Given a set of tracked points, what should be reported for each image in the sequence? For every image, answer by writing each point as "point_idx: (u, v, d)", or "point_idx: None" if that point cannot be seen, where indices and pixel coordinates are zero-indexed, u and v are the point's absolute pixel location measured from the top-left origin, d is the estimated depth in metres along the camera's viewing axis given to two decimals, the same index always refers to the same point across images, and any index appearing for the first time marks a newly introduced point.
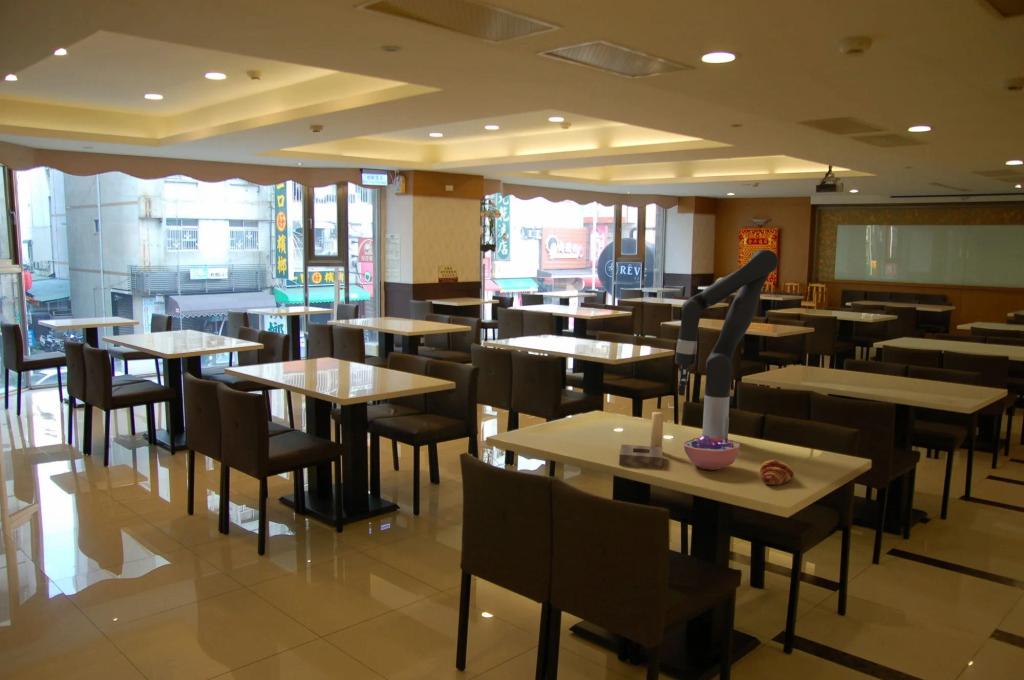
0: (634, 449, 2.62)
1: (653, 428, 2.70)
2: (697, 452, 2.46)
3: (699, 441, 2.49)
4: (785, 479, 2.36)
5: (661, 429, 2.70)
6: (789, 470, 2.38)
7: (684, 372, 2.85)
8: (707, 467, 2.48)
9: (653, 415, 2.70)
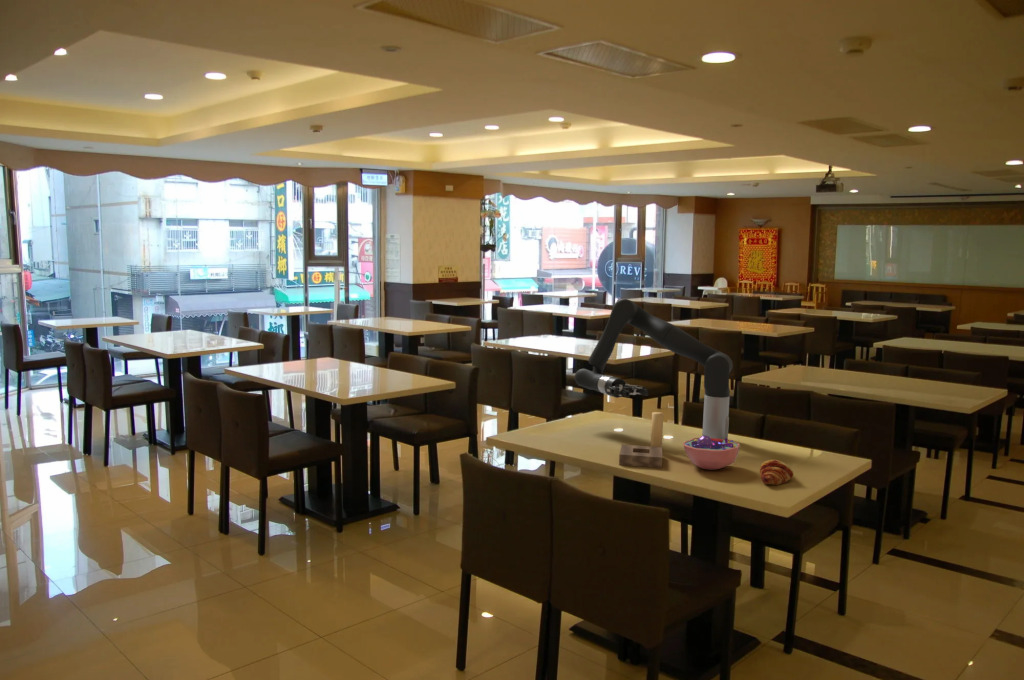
0: (634, 449, 2.62)
1: (653, 428, 2.70)
2: (697, 452, 2.46)
3: (699, 441, 2.49)
4: (784, 479, 2.36)
5: (661, 429, 2.70)
6: (789, 470, 2.38)
7: (608, 390, 2.84)
8: (707, 467, 2.48)
9: (653, 415, 2.70)
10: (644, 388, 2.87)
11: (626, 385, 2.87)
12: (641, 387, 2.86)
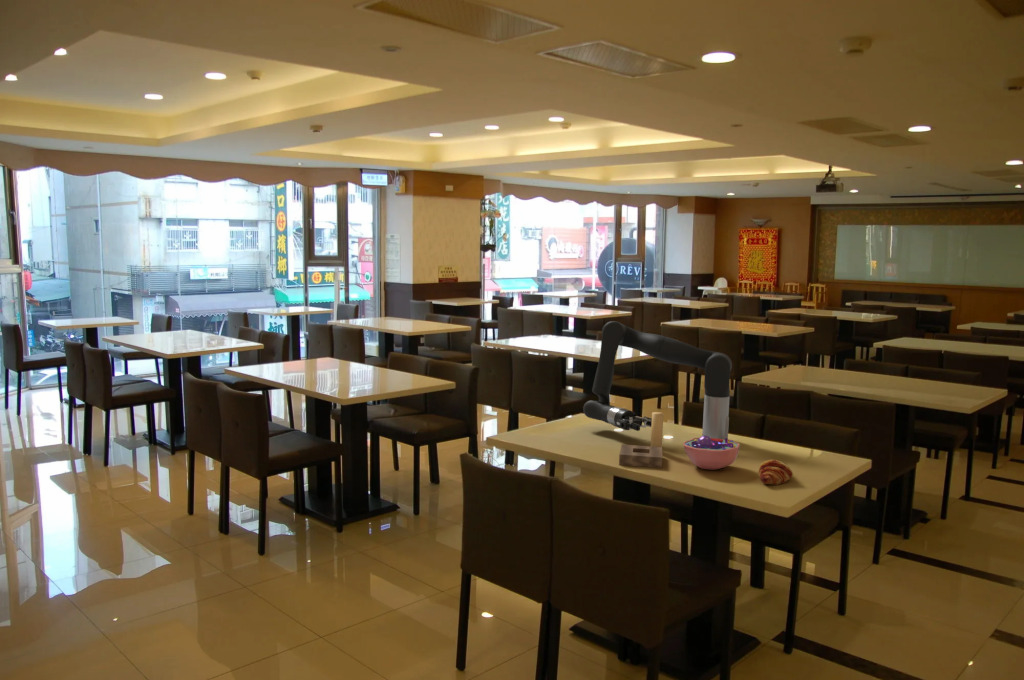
0: (634, 449, 2.62)
1: (653, 428, 2.70)
2: (697, 452, 2.46)
3: (699, 441, 2.49)
4: (784, 479, 2.36)
5: (661, 429, 2.70)
6: (788, 470, 2.38)
7: (618, 423, 2.80)
8: (707, 467, 2.48)
9: (653, 415, 2.70)
10: None
11: (636, 417, 2.83)
12: (651, 420, 2.81)
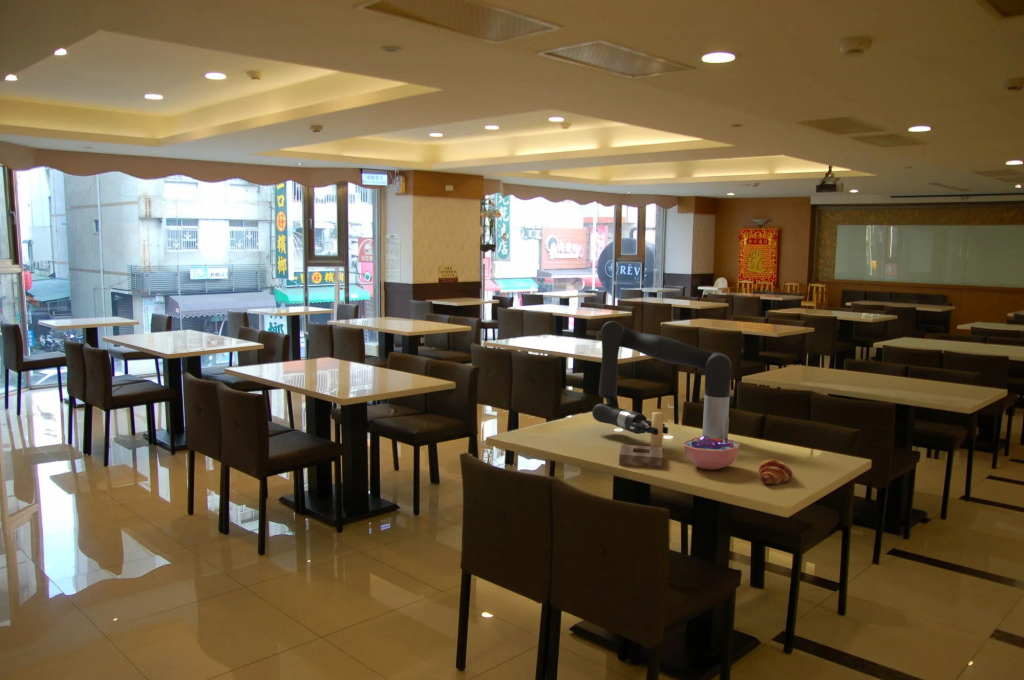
0: (634, 449, 2.62)
1: None
2: (697, 452, 2.46)
3: (699, 441, 2.49)
4: (783, 479, 2.37)
5: (661, 429, 2.70)
6: (787, 470, 2.38)
7: (632, 427, 2.73)
8: (707, 467, 2.48)
9: (653, 415, 2.70)
10: (663, 425, 2.75)
11: (646, 421, 2.77)
12: None
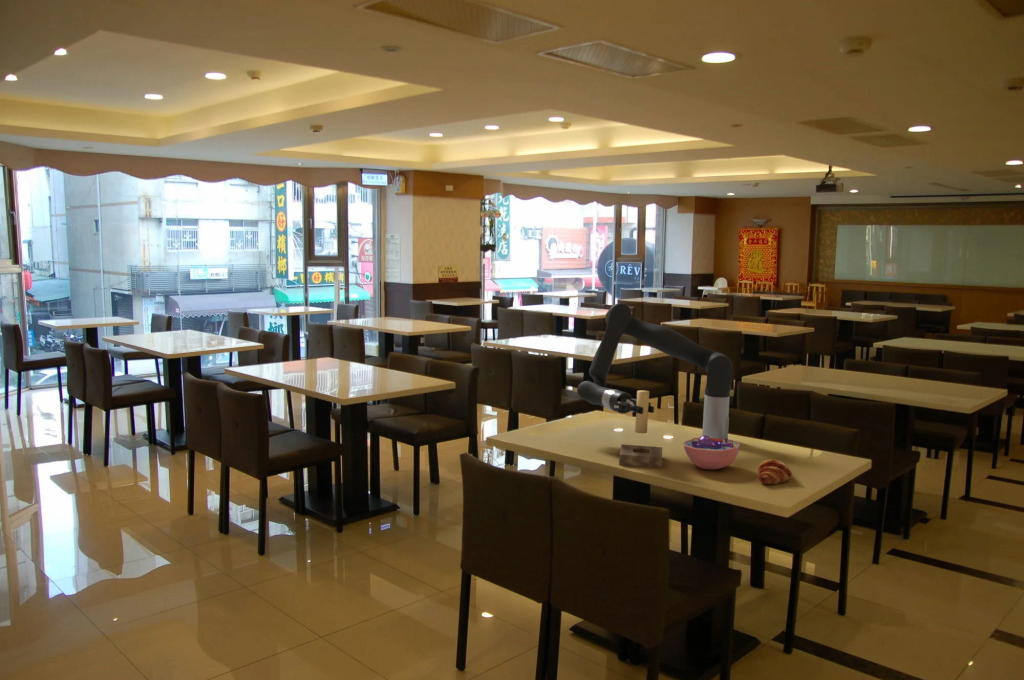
0: (634, 449, 2.62)
1: None
2: (697, 452, 2.46)
3: (699, 441, 2.49)
4: (782, 479, 2.37)
5: (646, 408, 2.56)
6: (787, 470, 2.38)
7: (616, 406, 2.60)
8: (707, 467, 2.48)
9: (638, 393, 2.56)
10: (649, 404, 2.61)
11: (632, 400, 2.64)
12: None
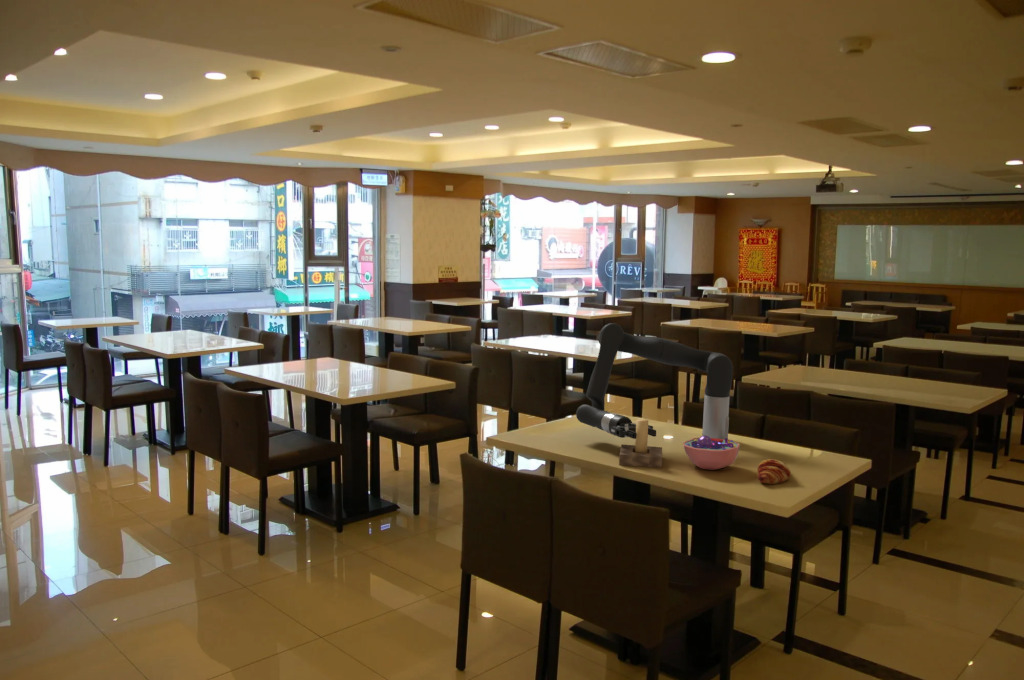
0: (634, 449, 2.62)
1: (637, 436, 2.57)
2: (697, 452, 2.46)
3: (699, 441, 2.49)
4: (781, 478, 2.37)
5: (646, 437, 2.57)
6: (786, 470, 2.38)
7: (612, 430, 2.61)
8: (707, 467, 2.48)
9: (637, 422, 2.57)
10: (652, 427, 2.64)
11: (632, 424, 2.64)
12: (648, 427, 2.63)
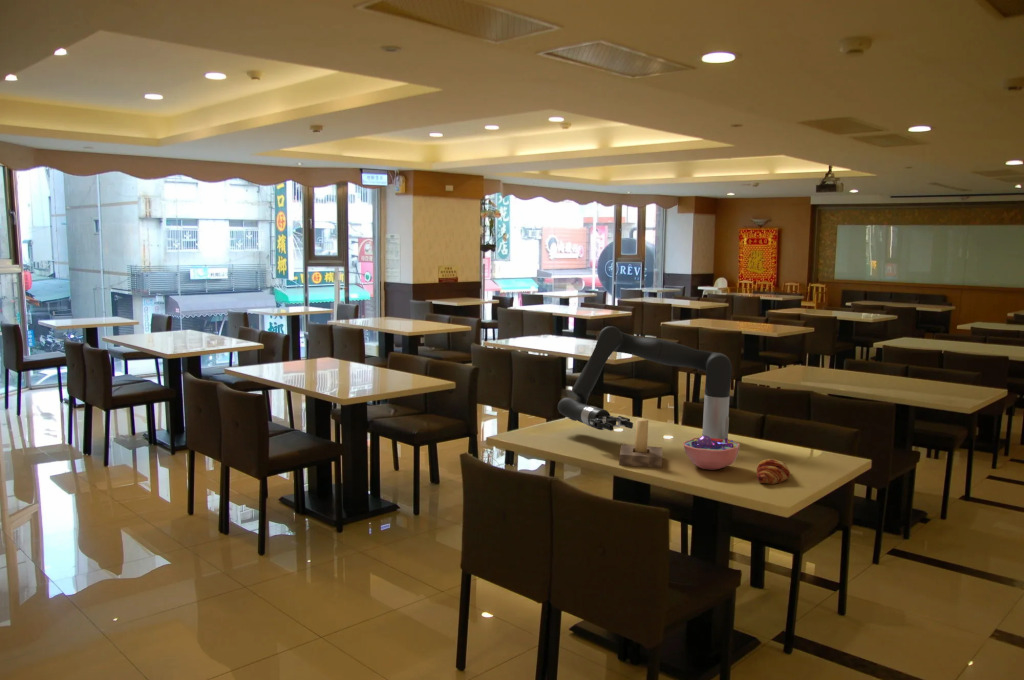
0: (634, 449, 2.62)
1: (637, 436, 2.57)
2: (697, 452, 2.46)
3: (699, 441, 2.49)
4: (780, 478, 2.37)
5: (646, 437, 2.57)
6: (785, 469, 2.39)
7: (591, 423, 2.72)
8: (707, 467, 2.48)
9: (637, 422, 2.57)
10: (629, 420, 2.75)
11: (610, 417, 2.75)
12: (626, 419, 2.74)
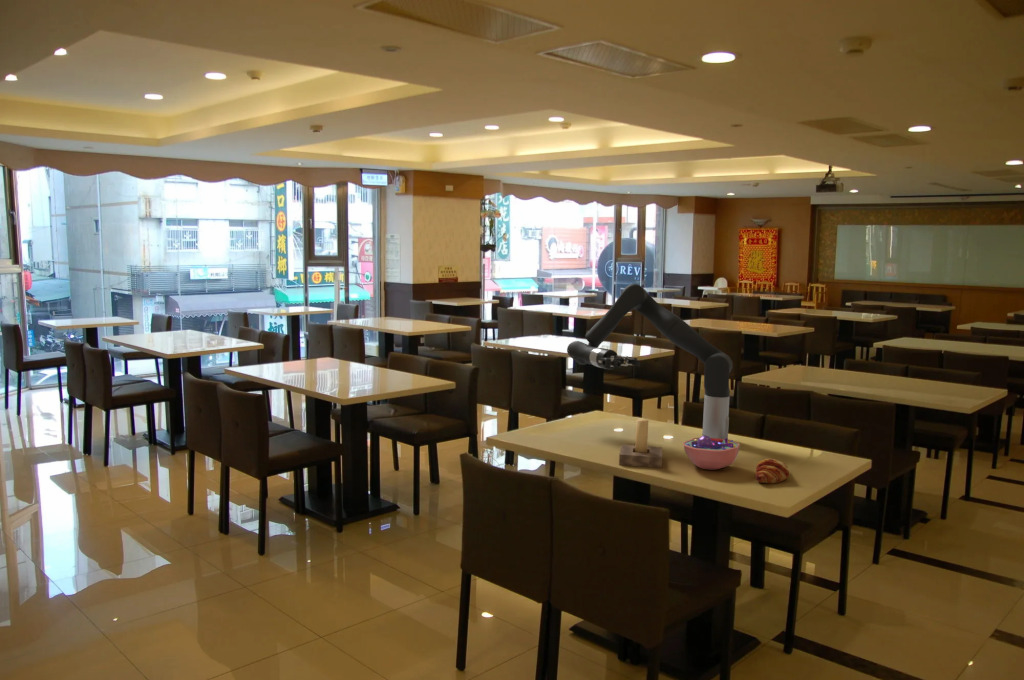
0: (634, 449, 2.62)
1: (637, 436, 2.57)
2: (697, 452, 2.46)
3: (699, 441, 2.49)
4: (779, 478, 2.37)
5: (646, 437, 2.57)
6: (784, 469, 2.39)
7: (599, 361, 2.83)
8: (707, 467, 2.48)
9: (637, 422, 2.57)
10: (636, 359, 2.85)
11: (618, 356, 2.86)
12: (633, 358, 2.84)
